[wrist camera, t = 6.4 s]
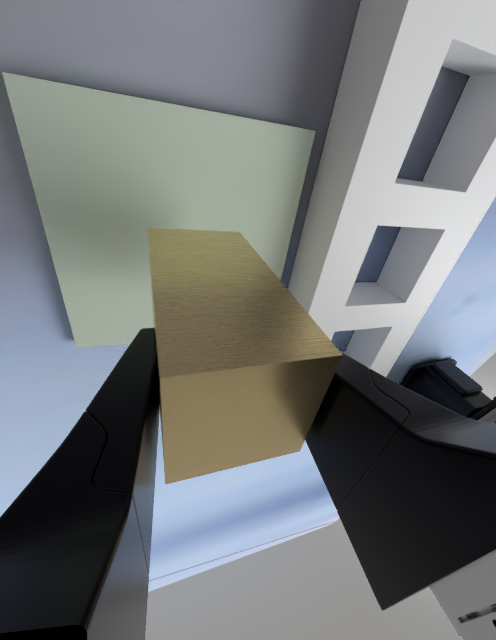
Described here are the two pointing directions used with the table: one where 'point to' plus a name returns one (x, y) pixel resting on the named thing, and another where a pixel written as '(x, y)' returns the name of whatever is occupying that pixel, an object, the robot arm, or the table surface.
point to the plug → (230, 354)
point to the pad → (146, 190)
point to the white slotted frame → (384, 165)
